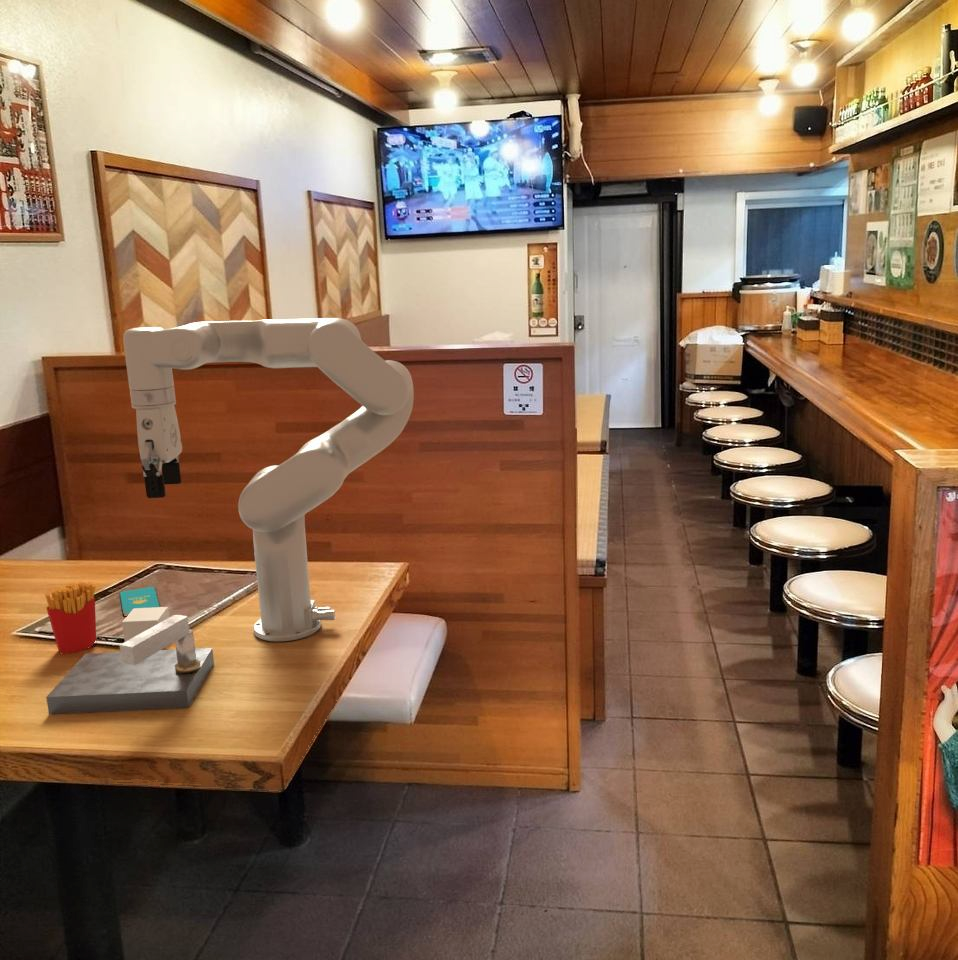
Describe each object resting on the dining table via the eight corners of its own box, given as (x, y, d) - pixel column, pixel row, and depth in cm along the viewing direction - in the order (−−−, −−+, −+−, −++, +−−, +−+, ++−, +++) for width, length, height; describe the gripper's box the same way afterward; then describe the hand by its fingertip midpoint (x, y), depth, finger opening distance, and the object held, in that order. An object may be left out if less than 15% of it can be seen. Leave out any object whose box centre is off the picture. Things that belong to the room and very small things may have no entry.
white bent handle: (186, 660, 155) (180, 609, 152) (205, 664, 153) (199, 612, 151) (123, 699, 142) (115, 644, 140) (143, 703, 140) (136, 647, 138)
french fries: (57, 657, 166) (47, 594, 163) (51, 650, 169) (41, 589, 166) (105, 643, 171) (96, 583, 168) (98, 637, 174) (90, 577, 171)
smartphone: (154, 585, 199) (160, 608, 186) (155, 589, 199) (161, 612, 186) (119, 591, 197) (122, 615, 183) (119, 595, 197) (123, 619, 183)
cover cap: (171, 636, 173) (168, 606, 172) (161, 650, 167) (157, 620, 166) (137, 637, 173) (133, 608, 172) (126, 652, 167) (121, 621, 166)
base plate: (214, 663, 161) (212, 647, 160) (188, 707, 145) (186, 690, 144) (88, 669, 160) (85, 653, 160) (49, 714, 145) (46, 697, 144)
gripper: (159, 404, 155) (171, 502, 159) (187, 389, 171) (198, 478, 176) (114, 406, 155) (127, 504, 159) (147, 391, 171) (158, 479, 175)
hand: (164, 490), depth 167 cm, fingers open, 9 cm apart
